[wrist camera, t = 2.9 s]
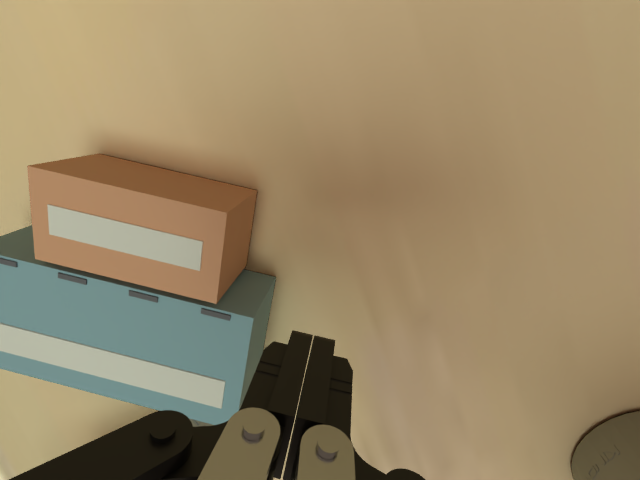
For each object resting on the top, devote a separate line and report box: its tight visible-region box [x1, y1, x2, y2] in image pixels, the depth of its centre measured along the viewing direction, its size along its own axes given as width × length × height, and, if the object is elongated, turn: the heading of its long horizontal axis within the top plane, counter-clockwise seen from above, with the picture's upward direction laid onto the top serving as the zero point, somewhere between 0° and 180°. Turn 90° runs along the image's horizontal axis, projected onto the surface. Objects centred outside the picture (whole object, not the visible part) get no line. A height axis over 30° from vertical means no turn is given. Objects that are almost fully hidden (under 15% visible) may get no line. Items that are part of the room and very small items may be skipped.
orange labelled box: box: [27, 154, 257, 304], centre depth 21 cm, size 10×5×5 cm, turn 79°
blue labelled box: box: [0, 225, 276, 425], centre depth 23 cm, size 16×8×5 cm, turn 79°
